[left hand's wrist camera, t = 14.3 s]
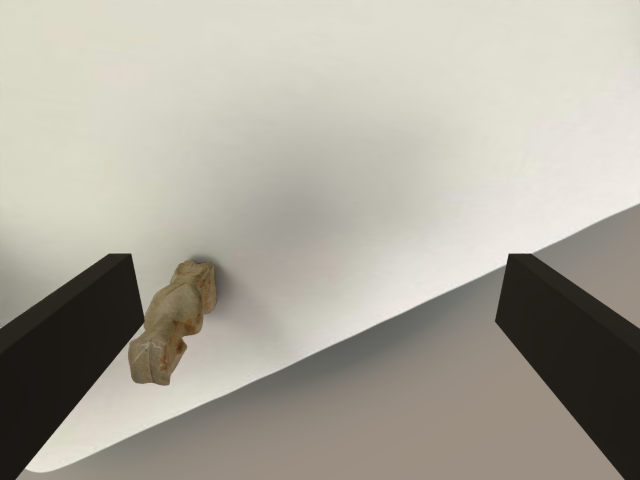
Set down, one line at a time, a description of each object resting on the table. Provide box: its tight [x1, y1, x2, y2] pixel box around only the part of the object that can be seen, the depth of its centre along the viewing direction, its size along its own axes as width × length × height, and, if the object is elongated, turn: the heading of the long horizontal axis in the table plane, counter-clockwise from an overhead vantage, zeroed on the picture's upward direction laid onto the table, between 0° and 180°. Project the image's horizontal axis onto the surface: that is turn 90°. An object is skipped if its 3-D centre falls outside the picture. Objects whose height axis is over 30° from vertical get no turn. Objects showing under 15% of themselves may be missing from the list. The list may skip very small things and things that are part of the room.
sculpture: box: [128, 261, 217, 385], centre depth 37 cm, size 6×7×15 cm
